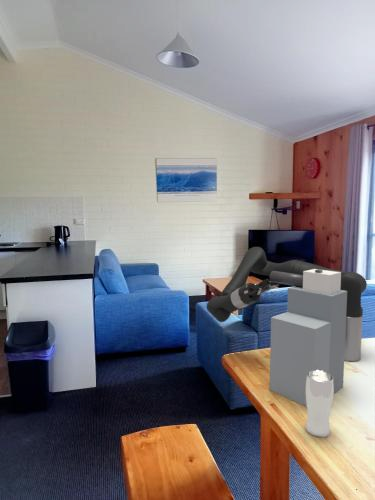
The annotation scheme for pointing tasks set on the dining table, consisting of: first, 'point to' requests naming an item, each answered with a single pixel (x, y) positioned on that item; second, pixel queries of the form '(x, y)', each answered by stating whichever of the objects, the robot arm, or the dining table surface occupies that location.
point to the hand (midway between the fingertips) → (276, 279)
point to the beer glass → (318, 402)
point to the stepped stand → (307, 341)
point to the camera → (310, 280)
